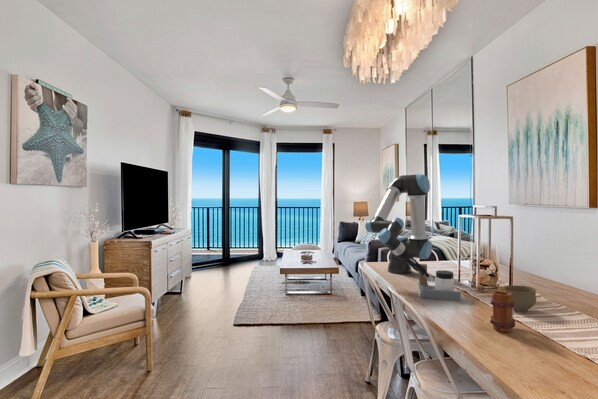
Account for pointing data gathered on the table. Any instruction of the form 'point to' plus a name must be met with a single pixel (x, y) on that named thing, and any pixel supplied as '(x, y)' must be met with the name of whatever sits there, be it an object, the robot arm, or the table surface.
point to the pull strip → (435, 294)
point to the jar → (444, 281)
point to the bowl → (522, 297)
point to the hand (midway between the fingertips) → (429, 279)
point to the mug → (502, 310)
